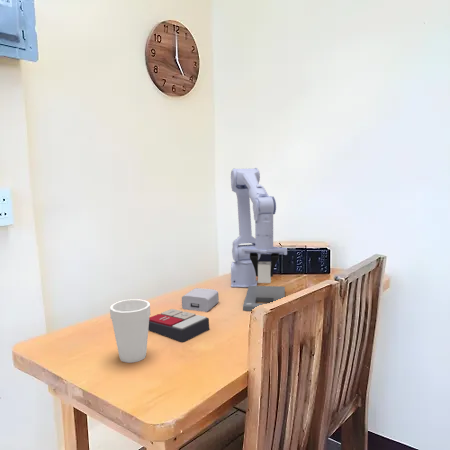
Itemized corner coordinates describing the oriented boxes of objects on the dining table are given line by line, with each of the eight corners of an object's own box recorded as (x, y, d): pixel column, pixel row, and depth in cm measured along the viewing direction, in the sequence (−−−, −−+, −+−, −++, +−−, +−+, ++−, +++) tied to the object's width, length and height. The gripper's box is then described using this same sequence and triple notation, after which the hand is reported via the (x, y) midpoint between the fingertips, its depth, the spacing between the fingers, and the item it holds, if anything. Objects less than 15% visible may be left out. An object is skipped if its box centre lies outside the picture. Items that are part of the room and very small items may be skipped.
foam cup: (155, 347, 106) (153, 298, 104) (149, 365, 97) (146, 312, 95) (118, 348, 106) (115, 299, 104) (108, 366, 97) (104, 312, 95)
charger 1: (225, 298, 145) (208, 312, 131) (200, 295, 148) (181, 309, 134) (225, 285, 144) (207, 298, 130) (200, 282, 147) (181, 295, 134)
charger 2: (257, 282, 134) (257, 264, 133) (258, 279, 138) (258, 261, 137) (270, 283, 133) (270, 264, 132) (270, 279, 137) (270, 261, 136)
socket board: (242, 310, 132) (242, 305, 131) (249, 289, 153) (249, 284, 153) (284, 312, 130) (284, 306, 130) (284, 290, 151) (284, 285, 151)
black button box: (171, 307, 127) (209, 315, 117) (172, 320, 127) (210, 330, 118) (143, 318, 118) (181, 327, 109) (145, 332, 119) (182, 343, 109)
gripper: (240, 236, 130) (240, 278, 132) (287, 237, 128) (287, 279, 130) (242, 232, 137) (243, 272, 139) (287, 233, 135) (287, 273, 137)
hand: (264, 275), depth 135 cm, fingers closed on charger 2, 4 cm apart
